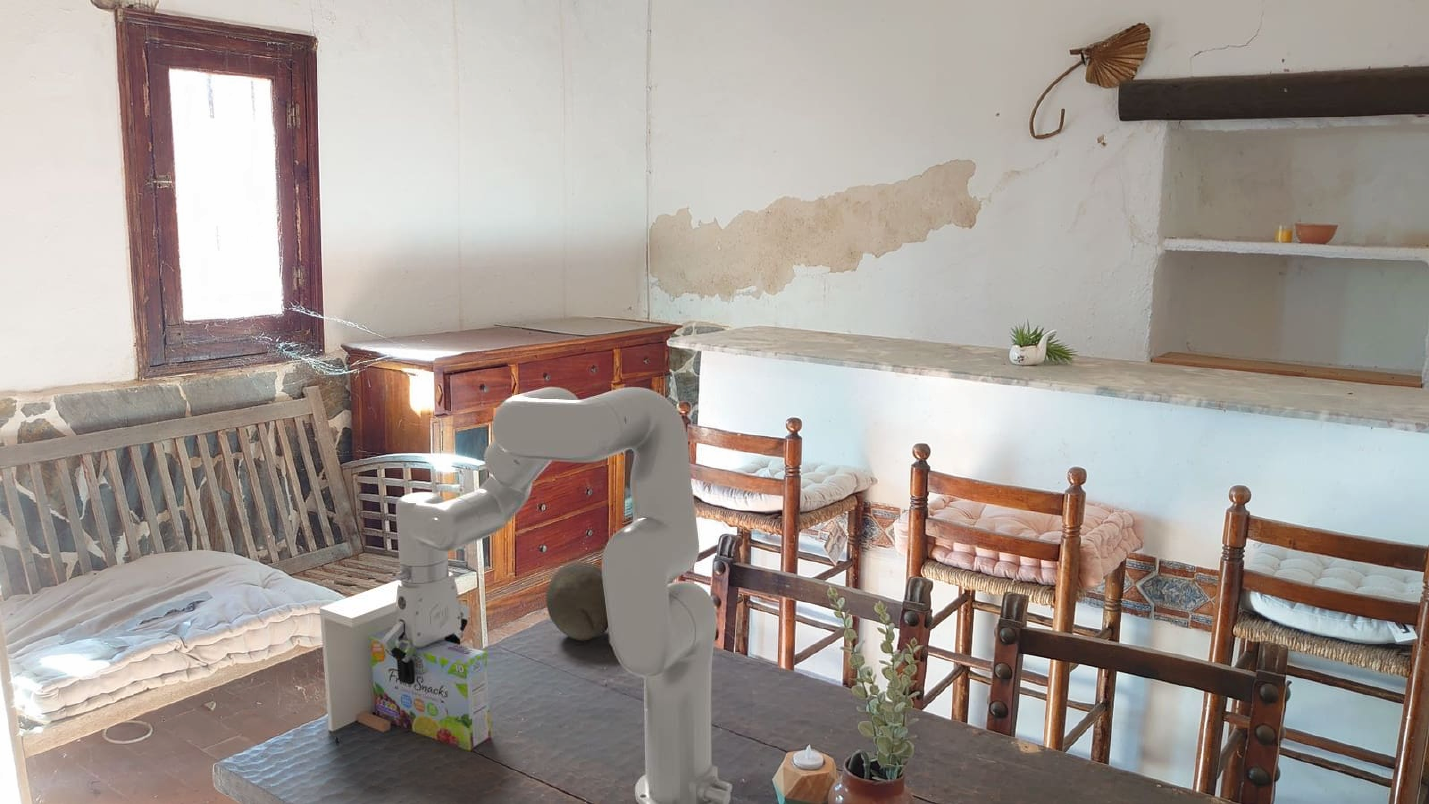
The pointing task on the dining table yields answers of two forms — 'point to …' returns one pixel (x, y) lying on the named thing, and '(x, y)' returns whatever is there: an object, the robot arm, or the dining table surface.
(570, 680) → the dining table surface
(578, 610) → the cantaloupe
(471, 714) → the snack box
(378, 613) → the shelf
